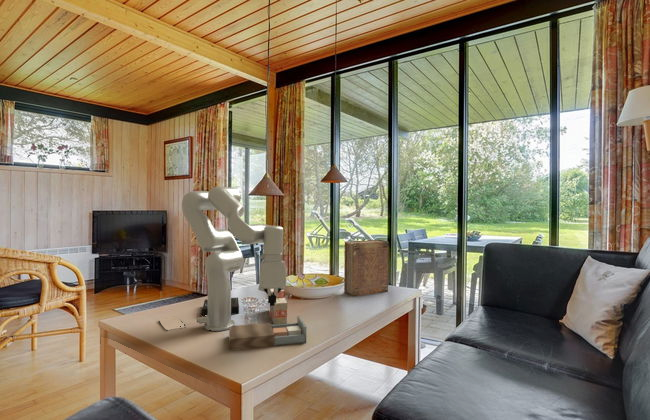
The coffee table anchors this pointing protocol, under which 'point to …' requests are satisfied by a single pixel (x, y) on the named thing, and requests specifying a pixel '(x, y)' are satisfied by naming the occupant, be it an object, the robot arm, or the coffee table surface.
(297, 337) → the box
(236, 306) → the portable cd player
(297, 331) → the cream tile
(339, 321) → the coffee table surface
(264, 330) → the walnut board
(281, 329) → the terracotta tile
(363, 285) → the book
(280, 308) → the stack of blocks
